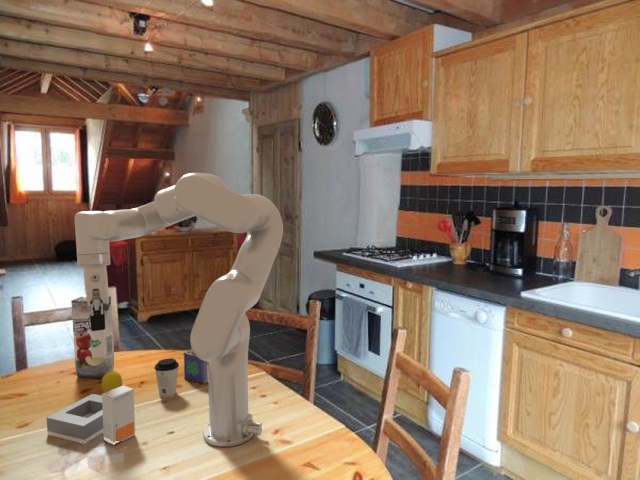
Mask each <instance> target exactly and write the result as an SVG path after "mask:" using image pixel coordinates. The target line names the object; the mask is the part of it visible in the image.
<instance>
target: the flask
mask: <svg viewBox="0 0 640 480" xmlns="http://www.w3.org/2000/svg"><path fill="white" fill-rule="evenodd" d="M183 364H184V366H183V369H184V370H183V372H184V373H183V374H184V375H183V376H184V378H183V379H184V380H185V381H188V382H190V383H194V384H199V385H206V384H207V383H208V361H204V360H201V359H200V358H198V357H197V356H196V355H195V353H194V352H193V350H192V348H191V349H189V350H185V351H184V352H183Z"/></svg>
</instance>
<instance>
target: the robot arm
mask: <svg viewBox="0 0 640 480" xmlns="http://www.w3.org/2000/svg"><path fill="white" fill-rule="evenodd" d="M195 216H196V217H198V218H200V219H202V220H203V221H205V222H208V223H210V224H212V225H214V226H216V227H218V228H220V229H222V230H224V231H227V232H229V233H233V234H243V233H247V235H246V237H245V239H244V241H243V243H242V244H241V246H240V248H239V250H238V253H237V256H236V259H235V261H234V262H233V264H232V267H231V269H230V271H229V272H228V273H227V274H224V275H223V276H220V277H219V278H217V279H215V281H213V283H212V284H211V285H210V287H209V288H208V290H207V291H206V293H205V296H204V298H203V300H202V303H201V305H200V308H199V311H198V313H197V315H196V318H195V321H194V324H193V325H192V328H191V333H190V336H189V337H190V339H189V340H190V347H191V349H192V350H191V351H193V352H194V353H195V355H196V356H197V357H198V358H200V359H201V360H204V361H207V372H208V382H207V384H208V413H209V415H208V416H209V417H208V419H209V424H208V423H207V425H206V426H205V427H204V429H203V433H202V435H203V437H202V438H203V439H204V441H205V442H206V443H208V444H209V445H212V446H214V447H224V448H226V447H228V448H229V447H235V446H238V445H242V444H244V443H246V442H248V441H249V440H250V439H252V438H253V437H254V436H259V437H260V436H261V435H262V433H263V432H262V431H263V429H262V426H263V424H262V422H258V421H254V420H253V414H252V413H249V373H248V372H249V369H248V368H249V367H248V366H249V364H248V363H249V362H248V361H249V360H248V359H249V345H250V335H251V327H250V321H249V318H248V316H247V315H246V312H247V311H248V310H250V309H251V308H253V307H254V306H255V305H256V304H257V303H258V302H259V300H260V298H261V296H262V292H263V290H264V288H265V285H266V282H267V280H268V278H269V276H270V273H271V270H272V266H273V265H274V262H275V259H276V258H277V255H278V253H279V250H280V247H281V244H282V241H283V234H284V225H283V224H284V223H283V218H282V216H281V213H280V211H279V209H278V208H277V206H276V205H275V204H274V202H272V201H271V200H270V199H269V198H268V197H266V196H263V195H262V194H257V193H246V194H245V193H238V192H236V191H233V190H231V189H229V188H228V187H227V185H226V183H225V181H224V180H223V179H222V178H221V177H220V176H218V175H215V174H213V173H206V172H205V173H204V172H190V173H186V174H183V176H181V177H180V178H179V179H178V180H177V182H176V183H175V185H171V186H168V187H167V188H164V189H161V190H159V191H157V192H156V194H155V196H154V200H153V201H151V202H148V203H146V204H144V205H141V206H138V207H135V208H130V209H117V210H105V211H101V210H87V211H86V210H85V211H79V212H76V213H75V215H74V230H75V233H74V234H75V245H76V258H77V259H76V260H77V267H78V268H82V270H83V281H84V291H85V295H86V298H87V303H88V306H90V305H91V306H90V309H91V315H90V321H91V331H98V330H105V314H104V305H103V303H106V305H107V304H108V303H109V296H110V295H109V282H108V280H109V279H108V270H107V266H110V265H111V251H110V250H111V249H110V242H118V241H123V240H130V239H135V238H140V237H143V236H146V235H149V234H152V233H155V232H157V231H160V230H163V229H164V228H165V229H166V228H167V227H170V226H173V225H174V224H177V223H181V222H183V221H184V220H188V219H191V218H193V217H195Z"/></svg>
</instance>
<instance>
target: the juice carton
mask: <svg viewBox="0 0 640 480" xmlns="http://www.w3.org/2000/svg"><path fill="white" fill-rule="evenodd" d="M70 302H71V303H70V304H71V316H72V317H71V318H72V333H73V334H72V335H73V348H74V349H73V351H74V364H75V365H74V366H75V371H76V372H75V373H76V376H77V378H85V379H86V378H89V379H103V377H104V375H105V374H106V373H108V372H110V371H111V370H113V371H114V368H115V351H114V349H115V348H114V345H115V344H114V331H113V330H114V329H113V311H112V309H113V308H112V296H111V295H109V303H108V304H107V305H106V303H103V305H104V314H105V330H98V331H91V321H90V315H91V309H90V306H91V305H90V306H88V303H87V298H86V294H83V295H82V296H80V297H78V298H74V299H72V300H70Z"/></svg>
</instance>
